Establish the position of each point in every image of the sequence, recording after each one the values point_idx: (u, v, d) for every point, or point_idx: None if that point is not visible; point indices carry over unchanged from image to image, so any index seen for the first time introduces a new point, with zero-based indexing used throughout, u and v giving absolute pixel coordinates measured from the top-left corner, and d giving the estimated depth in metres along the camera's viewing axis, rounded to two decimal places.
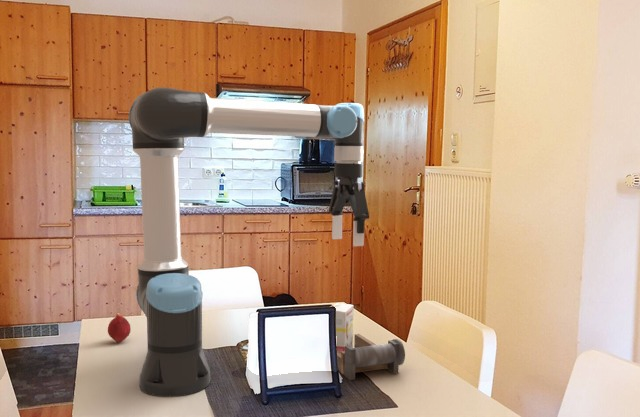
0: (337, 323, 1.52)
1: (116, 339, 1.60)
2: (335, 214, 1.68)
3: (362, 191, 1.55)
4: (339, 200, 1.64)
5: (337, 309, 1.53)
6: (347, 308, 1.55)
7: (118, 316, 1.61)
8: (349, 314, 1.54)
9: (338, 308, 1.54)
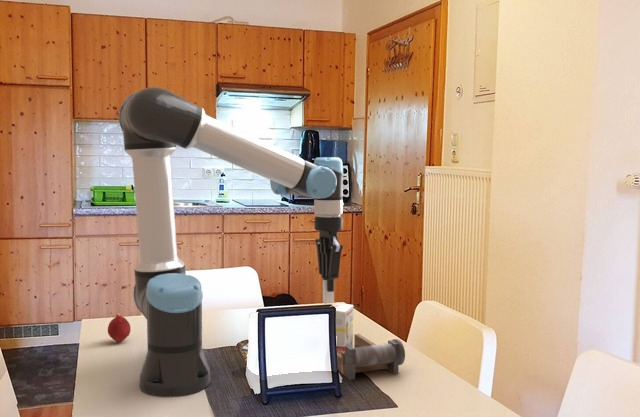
0: (337, 323, 1.52)
1: (116, 339, 1.60)
2: None
3: (338, 253, 1.58)
4: (324, 255, 1.63)
5: (337, 309, 1.53)
6: (347, 308, 1.55)
7: (118, 316, 1.61)
8: (348, 314, 1.54)
9: (338, 308, 1.54)
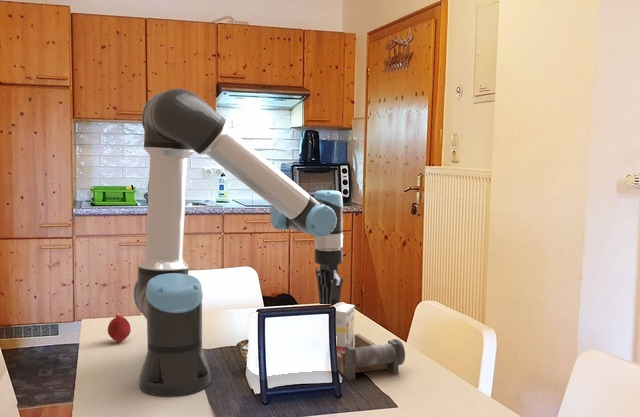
0: (337, 323, 1.52)
1: (116, 339, 1.60)
2: None
3: (339, 287, 1.59)
4: (324, 287, 1.64)
5: (337, 309, 1.53)
6: (348, 308, 1.55)
7: (118, 316, 1.61)
8: (349, 314, 1.54)
9: (339, 308, 1.54)
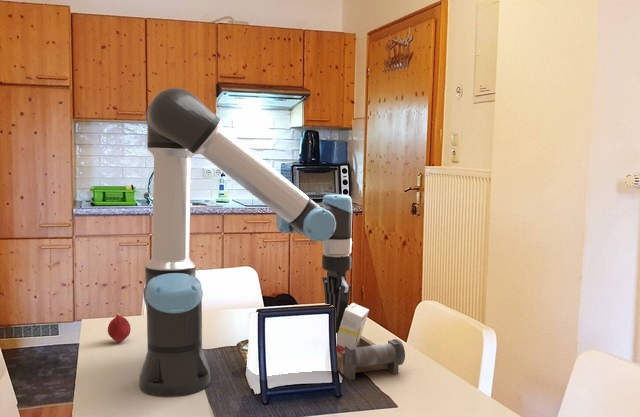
0: (351, 325, 1.49)
1: (116, 339, 1.60)
2: None
3: (347, 294, 1.53)
4: (331, 295, 1.58)
5: (354, 311, 1.50)
6: (363, 312, 1.52)
7: (118, 316, 1.61)
8: (363, 318, 1.51)
9: (355, 310, 1.51)
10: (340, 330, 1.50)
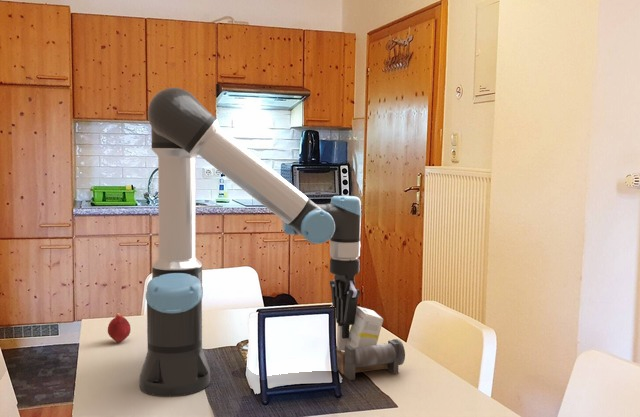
0: (373, 329, 1.46)
1: (116, 339, 1.60)
2: None
3: (355, 299, 1.49)
4: (339, 299, 1.53)
5: (372, 314, 1.47)
6: (376, 314, 1.50)
7: (118, 316, 1.61)
8: None
9: (371, 313, 1.48)
10: (362, 335, 1.46)
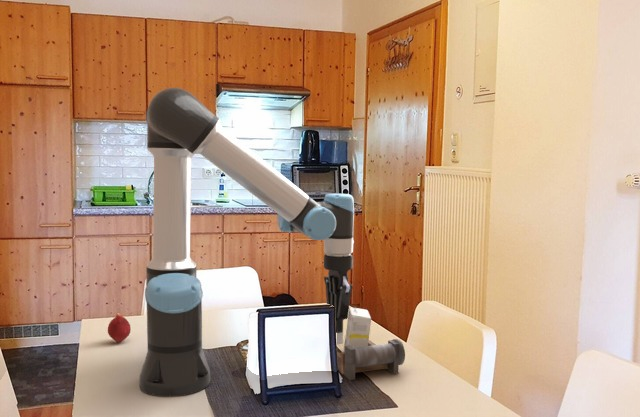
0: (361, 329, 1.46)
1: (116, 339, 1.60)
2: None
3: (348, 294, 1.52)
4: (333, 294, 1.57)
5: (360, 315, 1.47)
6: (367, 313, 1.50)
7: (118, 316, 1.61)
8: None
9: (360, 313, 1.48)
10: (351, 337, 1.46)
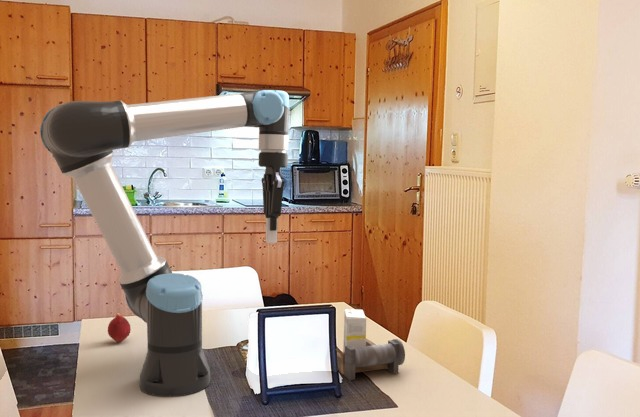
0: (357, 330, 1.46)
1: (116, 339, 1.60)
2: None
3: (281, 189, 1.53)
4: (267, 193, 1.58)
5: (355, 316, 1.47)
6: (362, 313, 1.50)
7: (118, 316, 1.61)
8: None
9: (354, 314, 1.48)
10: (348, 338, 1.46)
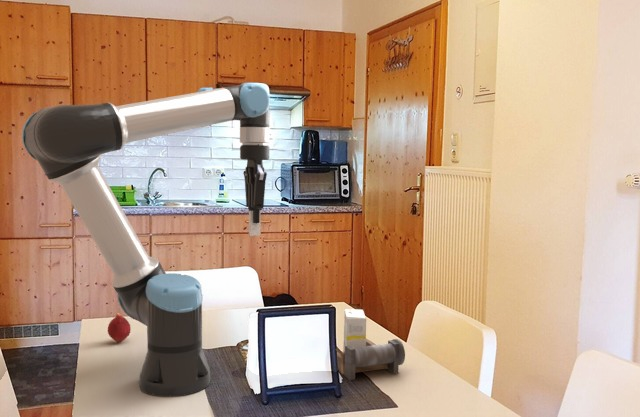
0: (358, 330, 1.46)
1: (116, 339, 1.60)
2: None
3: (263, 182, 1.53)
4: (250, 186, 1.58)
5: (355, 316, 1.47)
6: (362, 313, 1.50)
7: (118, 316, 1.61)
8: None
9: (355, 314, 1.48)
10: (348, 338, 1.46)
